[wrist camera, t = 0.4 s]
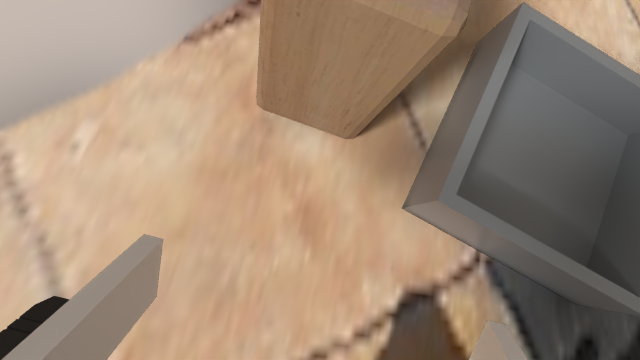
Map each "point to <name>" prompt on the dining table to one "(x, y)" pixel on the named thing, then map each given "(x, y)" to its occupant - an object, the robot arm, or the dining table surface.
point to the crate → (542, 162)
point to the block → (347, 56)
